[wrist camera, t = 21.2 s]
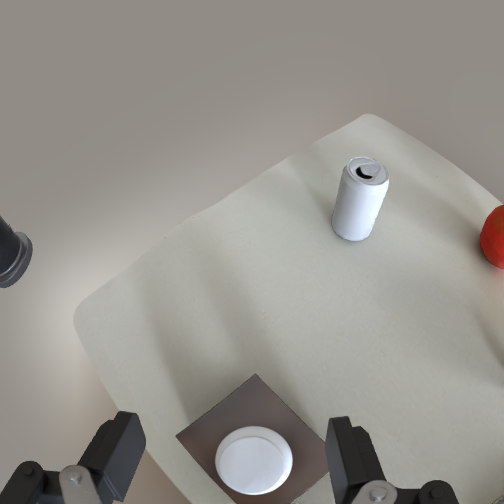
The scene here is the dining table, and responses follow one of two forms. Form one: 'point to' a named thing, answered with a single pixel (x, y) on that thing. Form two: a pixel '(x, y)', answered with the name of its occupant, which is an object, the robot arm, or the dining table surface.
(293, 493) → the shelf
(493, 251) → the apple
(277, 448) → the supplement bottle
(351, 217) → the beverage can
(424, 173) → the dining table surface
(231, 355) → the dining table surface
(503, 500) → the decorative bowl
